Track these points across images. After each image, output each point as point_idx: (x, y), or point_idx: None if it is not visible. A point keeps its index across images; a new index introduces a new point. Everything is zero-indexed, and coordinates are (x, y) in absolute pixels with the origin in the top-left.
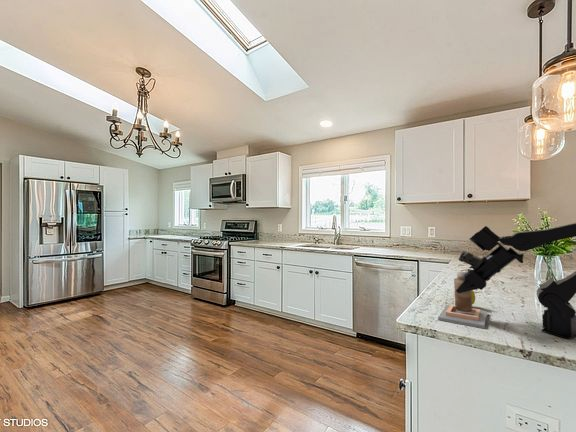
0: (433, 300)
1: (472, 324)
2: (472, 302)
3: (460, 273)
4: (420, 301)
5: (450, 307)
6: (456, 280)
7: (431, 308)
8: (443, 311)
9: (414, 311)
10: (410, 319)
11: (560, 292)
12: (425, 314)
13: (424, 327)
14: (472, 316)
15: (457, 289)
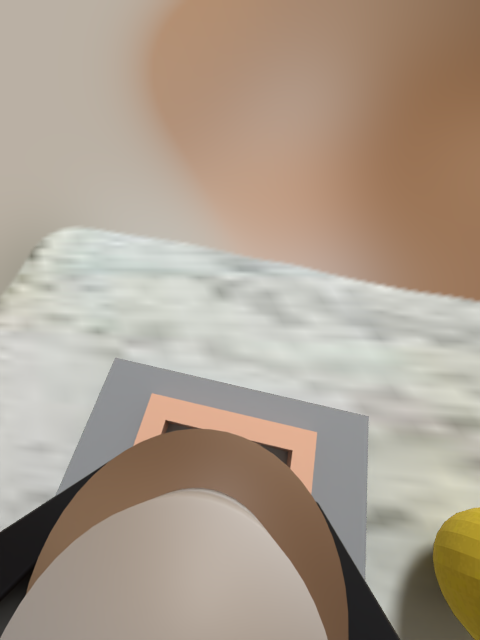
0: (466, 357)
1: None
2: (461, 623)
3: (19, 608)
4: (403, 296)
5: (259, 429)
6: (114, 461)
7: (305, 341)
8: (226, 390)
9: (222, 271)
10: (104, 257)
11: None
12: (193, 312)
13: (8, 303)
14: None
15: (99, 468)
